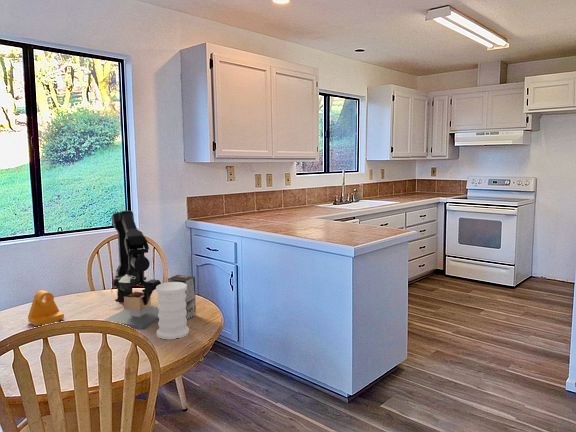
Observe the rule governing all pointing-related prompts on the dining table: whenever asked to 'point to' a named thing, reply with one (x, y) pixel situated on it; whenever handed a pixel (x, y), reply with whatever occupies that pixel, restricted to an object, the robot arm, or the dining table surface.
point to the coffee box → (187, 293)
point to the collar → (135, 301)
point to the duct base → (136, 317)
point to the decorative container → (172, 310)
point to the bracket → (44, 309)
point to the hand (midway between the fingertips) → (137, 303)
